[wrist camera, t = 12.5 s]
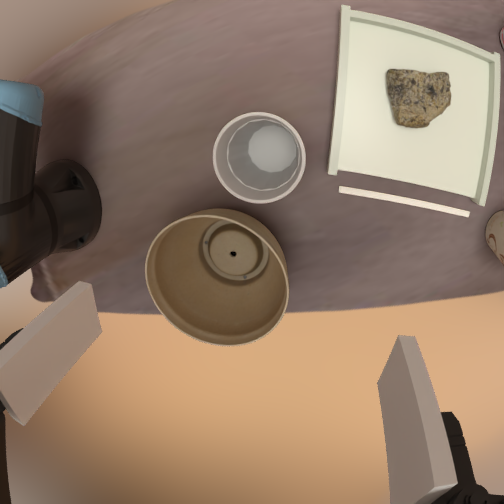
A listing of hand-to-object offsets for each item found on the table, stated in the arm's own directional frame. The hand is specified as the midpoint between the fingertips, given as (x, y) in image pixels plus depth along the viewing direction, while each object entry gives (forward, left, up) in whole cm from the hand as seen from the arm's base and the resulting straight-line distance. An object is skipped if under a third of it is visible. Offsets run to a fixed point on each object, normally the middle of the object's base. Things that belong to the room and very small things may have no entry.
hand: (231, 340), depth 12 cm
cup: (-2, +5, -29) cm, 29 cm away
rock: (+14, +15, -28) cm, 34 cm away
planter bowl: (-6, -9, -29) cm, 31 cm away
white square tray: (+16, +13, -29) cm, 35 cm away
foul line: (+16, +1, -29) cm, 33 cm away
